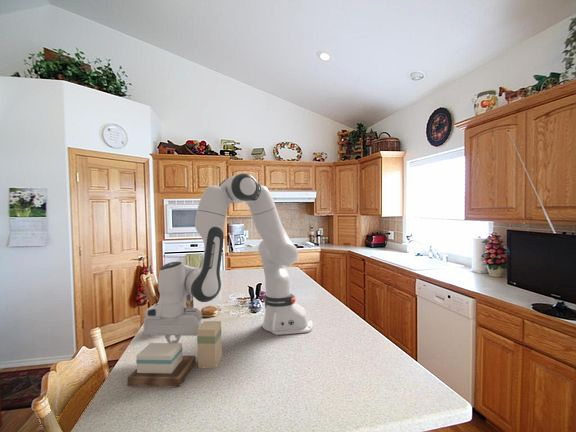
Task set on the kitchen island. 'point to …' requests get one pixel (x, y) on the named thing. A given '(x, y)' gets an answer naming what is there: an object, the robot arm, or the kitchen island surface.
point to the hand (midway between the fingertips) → (173, 346)
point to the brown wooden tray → (164, 375)
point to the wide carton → (159, 358)
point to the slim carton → (209, 344)
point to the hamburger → (209, 311)
